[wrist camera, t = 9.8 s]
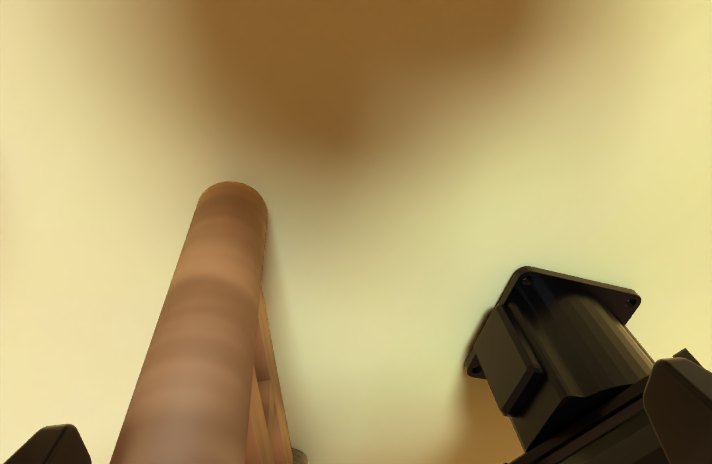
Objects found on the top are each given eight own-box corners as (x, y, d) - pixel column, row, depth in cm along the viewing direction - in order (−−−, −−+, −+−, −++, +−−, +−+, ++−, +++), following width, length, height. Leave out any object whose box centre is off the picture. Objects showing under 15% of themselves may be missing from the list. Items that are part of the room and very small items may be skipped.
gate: (306, 452, 27) (314, 772, 17) (256, 458, 27) (233, 786, 17) (262, 178, 19) (225, 473, 9) (189, 184, 19) (69, 492, 9)
